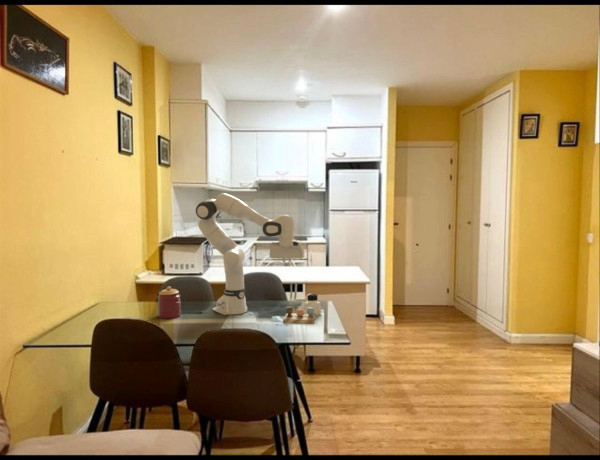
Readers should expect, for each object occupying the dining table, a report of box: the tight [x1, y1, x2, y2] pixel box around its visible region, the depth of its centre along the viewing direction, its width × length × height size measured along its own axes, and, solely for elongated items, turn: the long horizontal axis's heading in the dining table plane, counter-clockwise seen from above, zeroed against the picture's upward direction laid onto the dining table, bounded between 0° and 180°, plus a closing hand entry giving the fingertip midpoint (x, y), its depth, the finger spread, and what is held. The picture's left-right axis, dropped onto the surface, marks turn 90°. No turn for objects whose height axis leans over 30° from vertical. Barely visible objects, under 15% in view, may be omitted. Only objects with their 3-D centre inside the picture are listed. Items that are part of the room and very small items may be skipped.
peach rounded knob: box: [295, 308, 304, 317], centre depth 224 cm, size 4×4×5 cm
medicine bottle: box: [303, 293, 322, 316], centre depth 235 cm, size 7×7×12 cm
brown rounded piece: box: [285, 305, 294, 317], centre depth 224 cm, size 4×4×5 cm
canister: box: [157, 285, 182, 320], centre depth 234 cm, size 13×13×18 cm
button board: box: [282, 312, 317, 324], centre depth 224 cm, size 17×12×2 cm
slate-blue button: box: [307, 307, 314, 317], centre depth 222 cm, size 4×4×5 cm
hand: (286, 265), depth 232 cm, fingers closed
